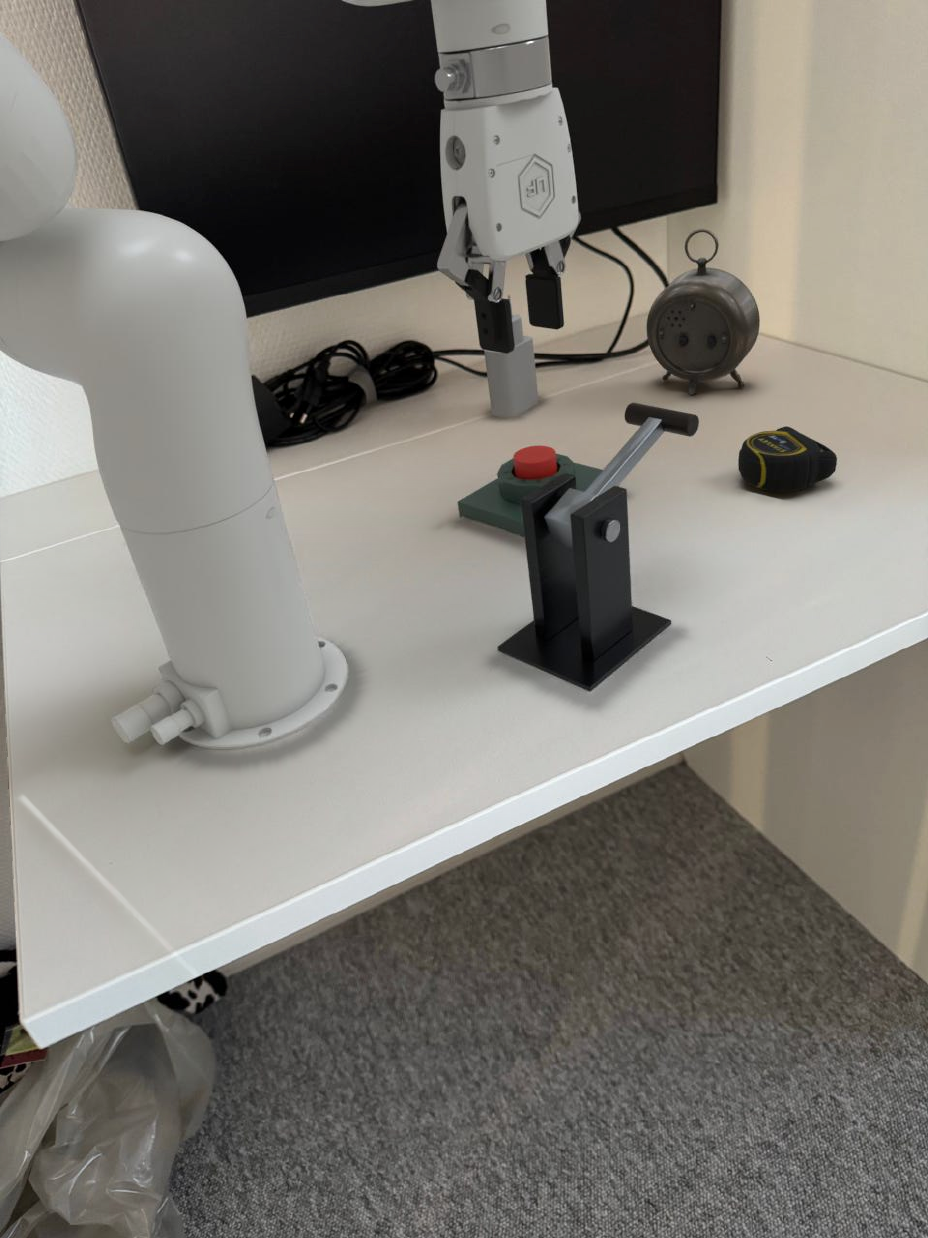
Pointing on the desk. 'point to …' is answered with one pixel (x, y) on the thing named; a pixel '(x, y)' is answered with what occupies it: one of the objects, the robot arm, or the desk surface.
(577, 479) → the green switch base
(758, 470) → the tape measure
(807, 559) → the desk surface
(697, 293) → the alarm clock
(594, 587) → the bracket
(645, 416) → the lever
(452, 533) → the desk surface
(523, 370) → the power adapter
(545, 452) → the button
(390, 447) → the desk surface
